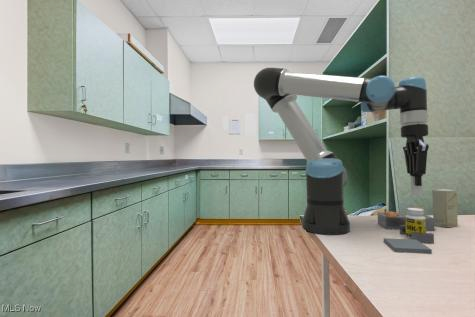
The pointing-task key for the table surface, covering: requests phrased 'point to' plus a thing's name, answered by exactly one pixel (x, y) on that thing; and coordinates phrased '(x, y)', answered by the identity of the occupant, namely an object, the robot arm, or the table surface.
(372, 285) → the table surface
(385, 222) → the plunger block
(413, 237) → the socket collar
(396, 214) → the plunger left
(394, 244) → the pad
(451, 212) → the skincare box
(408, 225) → the supplement bottle
